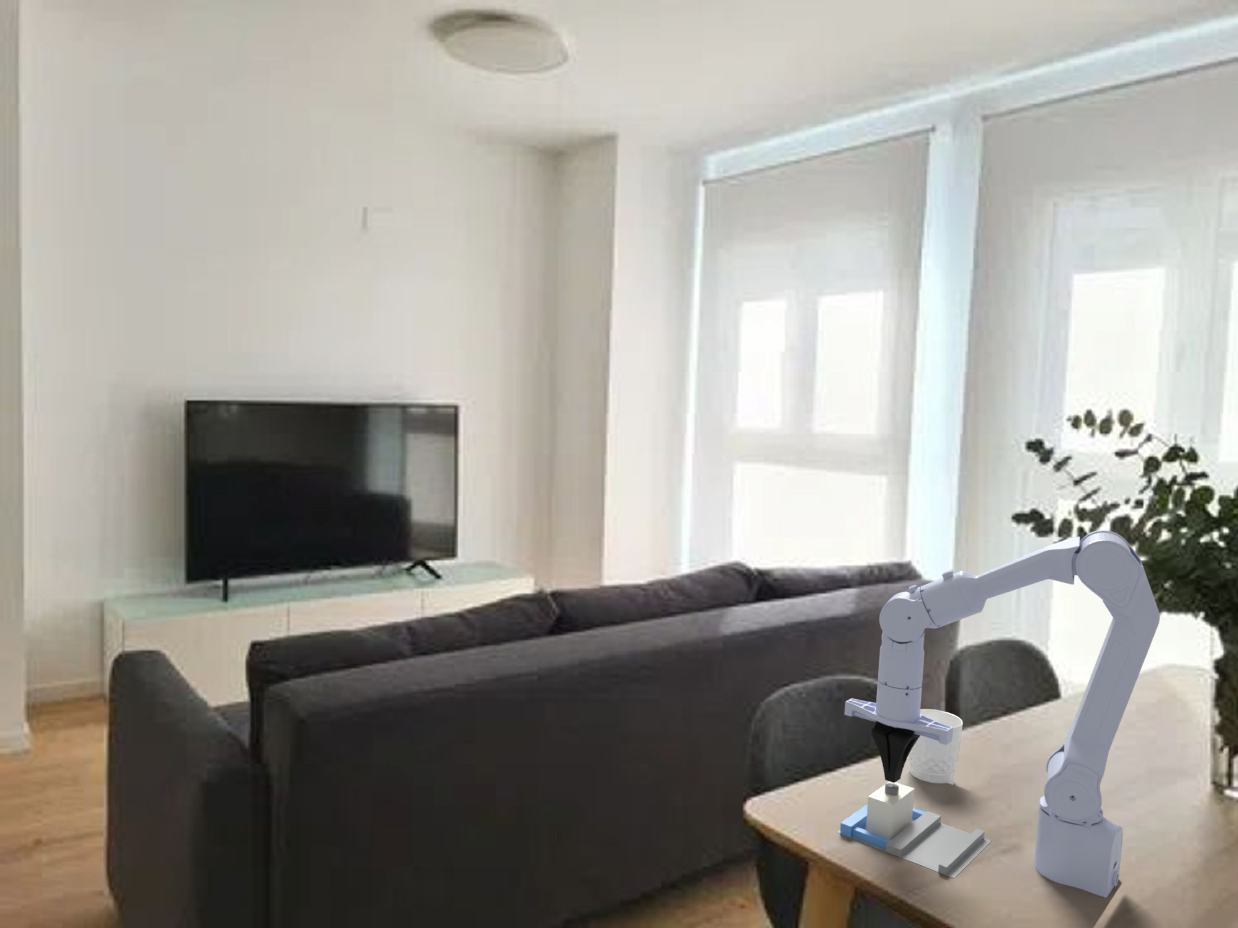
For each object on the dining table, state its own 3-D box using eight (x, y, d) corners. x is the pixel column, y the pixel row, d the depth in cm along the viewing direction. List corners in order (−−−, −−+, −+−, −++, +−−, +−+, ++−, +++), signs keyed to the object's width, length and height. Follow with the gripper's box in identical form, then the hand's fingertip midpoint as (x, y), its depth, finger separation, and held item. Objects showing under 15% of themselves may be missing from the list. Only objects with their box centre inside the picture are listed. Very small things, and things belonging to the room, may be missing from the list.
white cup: (923, 793, 140) (928, 729, 139) (895, 770, 147) (899, 710, 147) (968, 788, 142) (973, 725, 141) (938, 767, 150) (942, 707, 149)
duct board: (991, 847, 124) (992, 829, 124) (953, 885, 114) (954, 866, 114) (879, 807, 134) (880, 791, 134) (836, 839, 125) (837, 821, 124)
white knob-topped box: (911, 822, 128) (914, 781, 127) (890, 841, 123) (893, 798, 122) (887, 814, 130) (890, 774, 130) (865, 831, 125) (868, 789, 124)
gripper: (964, 689, 123) (956, 787, 124) (863, 663, 132) (857, 754, 134) (943, 701, 118) (935, 804, 119) (840, 673, 127) (833, 768, 128)
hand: (892, 779), depth 126 cm, fingers closed
